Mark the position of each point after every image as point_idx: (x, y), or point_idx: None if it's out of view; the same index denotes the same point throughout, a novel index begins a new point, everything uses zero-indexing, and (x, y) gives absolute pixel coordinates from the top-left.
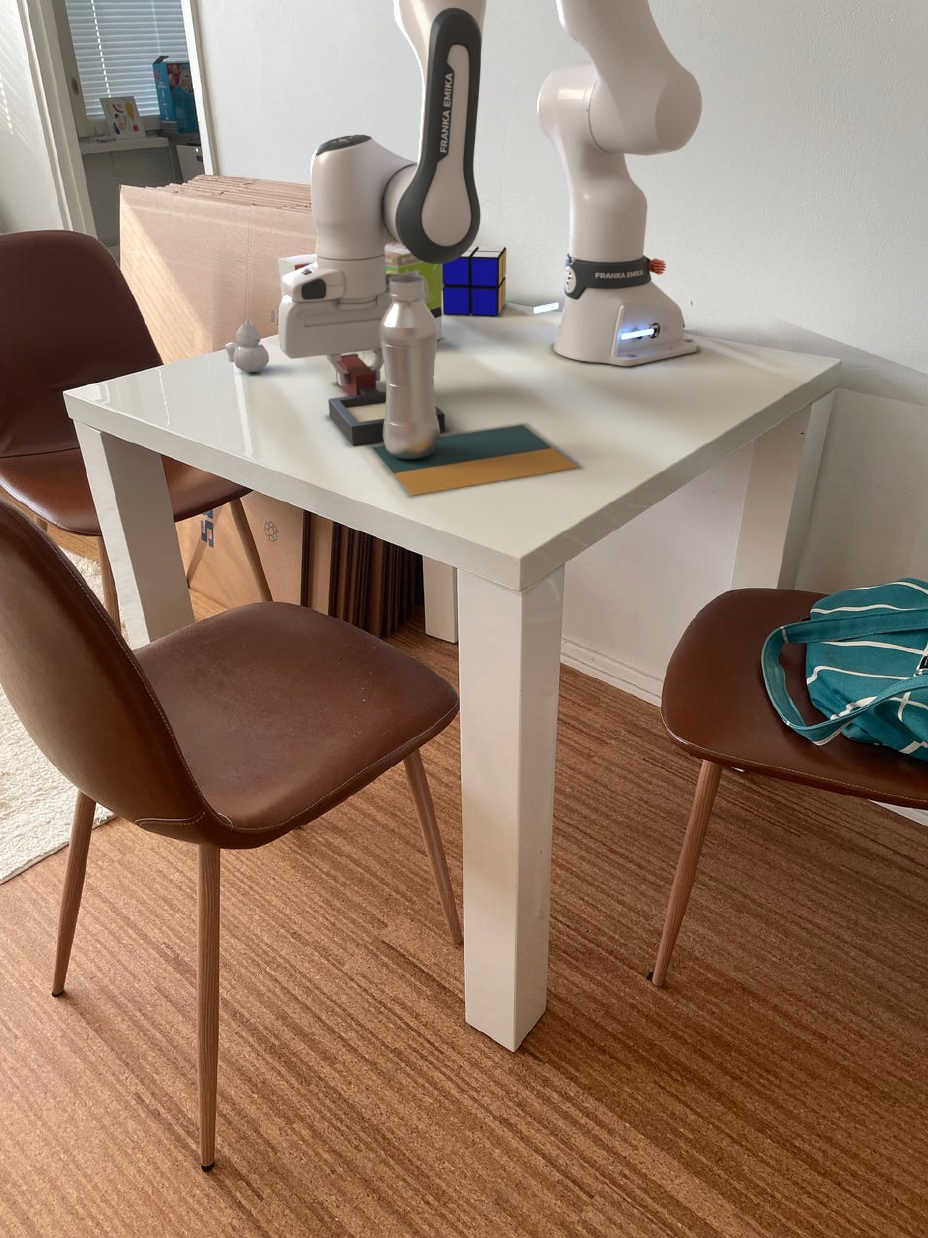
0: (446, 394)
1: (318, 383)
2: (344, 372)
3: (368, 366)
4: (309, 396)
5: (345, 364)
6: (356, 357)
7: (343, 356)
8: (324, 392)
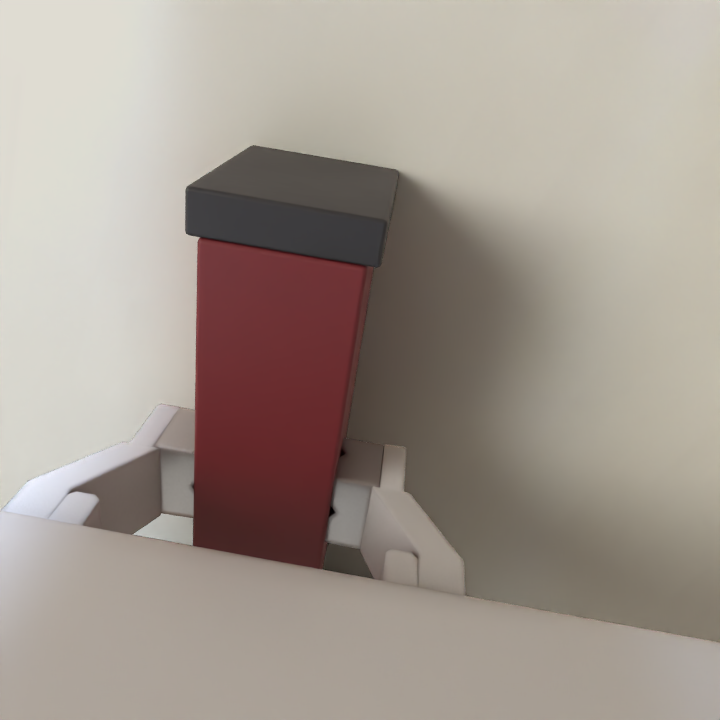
0: (668, 585)
1: (141, 56)
2: (164, 504)
3: (348, 484)
4: (45, 270)
5: (201, 423)
6: (337, 325)
7: (252, 239)
8: (138, 252)
